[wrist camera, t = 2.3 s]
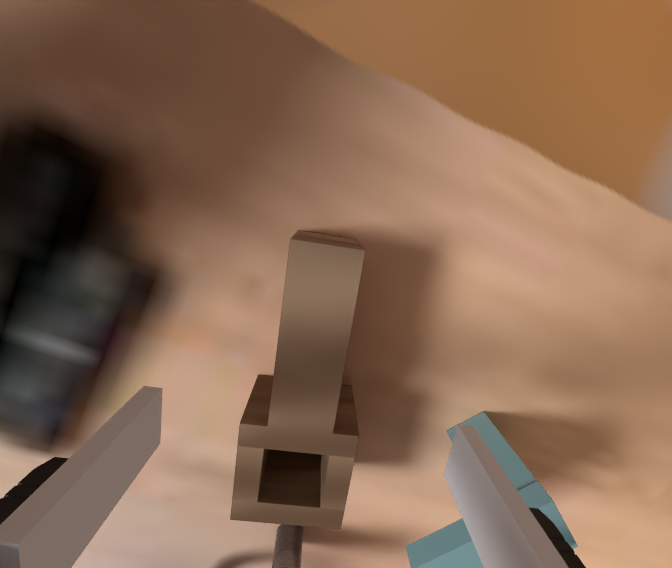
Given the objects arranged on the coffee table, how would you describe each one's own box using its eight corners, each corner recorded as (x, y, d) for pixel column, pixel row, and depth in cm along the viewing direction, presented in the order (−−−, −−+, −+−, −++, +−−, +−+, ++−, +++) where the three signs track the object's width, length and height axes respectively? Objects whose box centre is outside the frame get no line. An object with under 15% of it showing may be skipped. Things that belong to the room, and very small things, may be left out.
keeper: (385, 460, 24) (411, 570, 17) (482, 408, 23) (553, 501, 16) (407, 492, 25) (441, 610, 18) (501, 443, 24) (577, 546, 17)
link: (274, 226, 20) (258, 234, 15) (378, 242, 20) (395, 254, 15) (249, 454, 23) (230, 519, 19) (336, 462, 24) (340, 529, 19)
